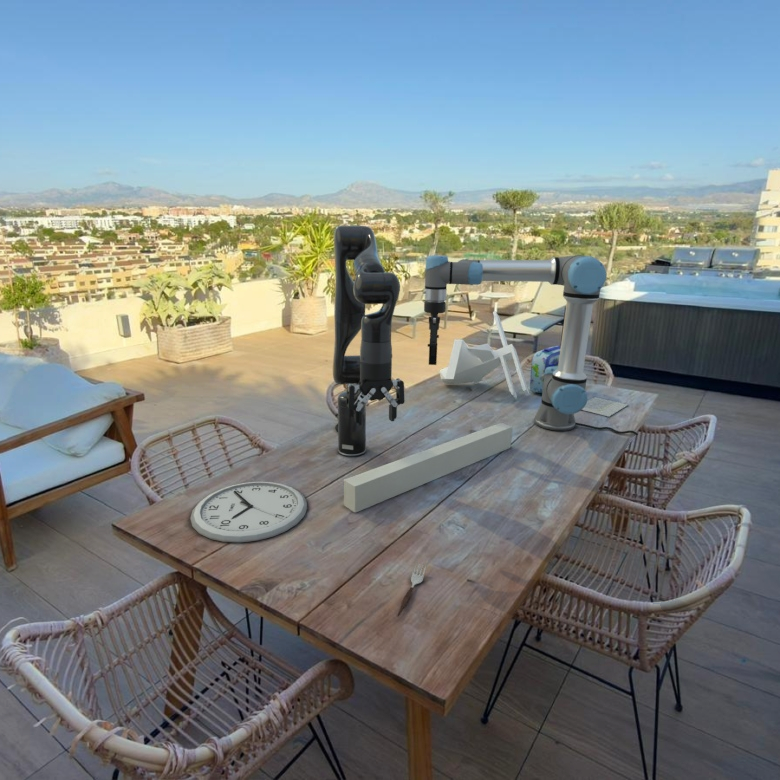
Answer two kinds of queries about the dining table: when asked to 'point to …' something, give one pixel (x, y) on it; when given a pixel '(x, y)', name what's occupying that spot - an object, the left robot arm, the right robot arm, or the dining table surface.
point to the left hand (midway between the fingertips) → (375, 422)
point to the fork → (415, 580)
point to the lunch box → (543, 366)
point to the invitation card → (603, 406)
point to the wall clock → (248, 512)
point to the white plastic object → (482, 362)
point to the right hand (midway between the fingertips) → (432, 360)
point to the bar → (424, 467)
